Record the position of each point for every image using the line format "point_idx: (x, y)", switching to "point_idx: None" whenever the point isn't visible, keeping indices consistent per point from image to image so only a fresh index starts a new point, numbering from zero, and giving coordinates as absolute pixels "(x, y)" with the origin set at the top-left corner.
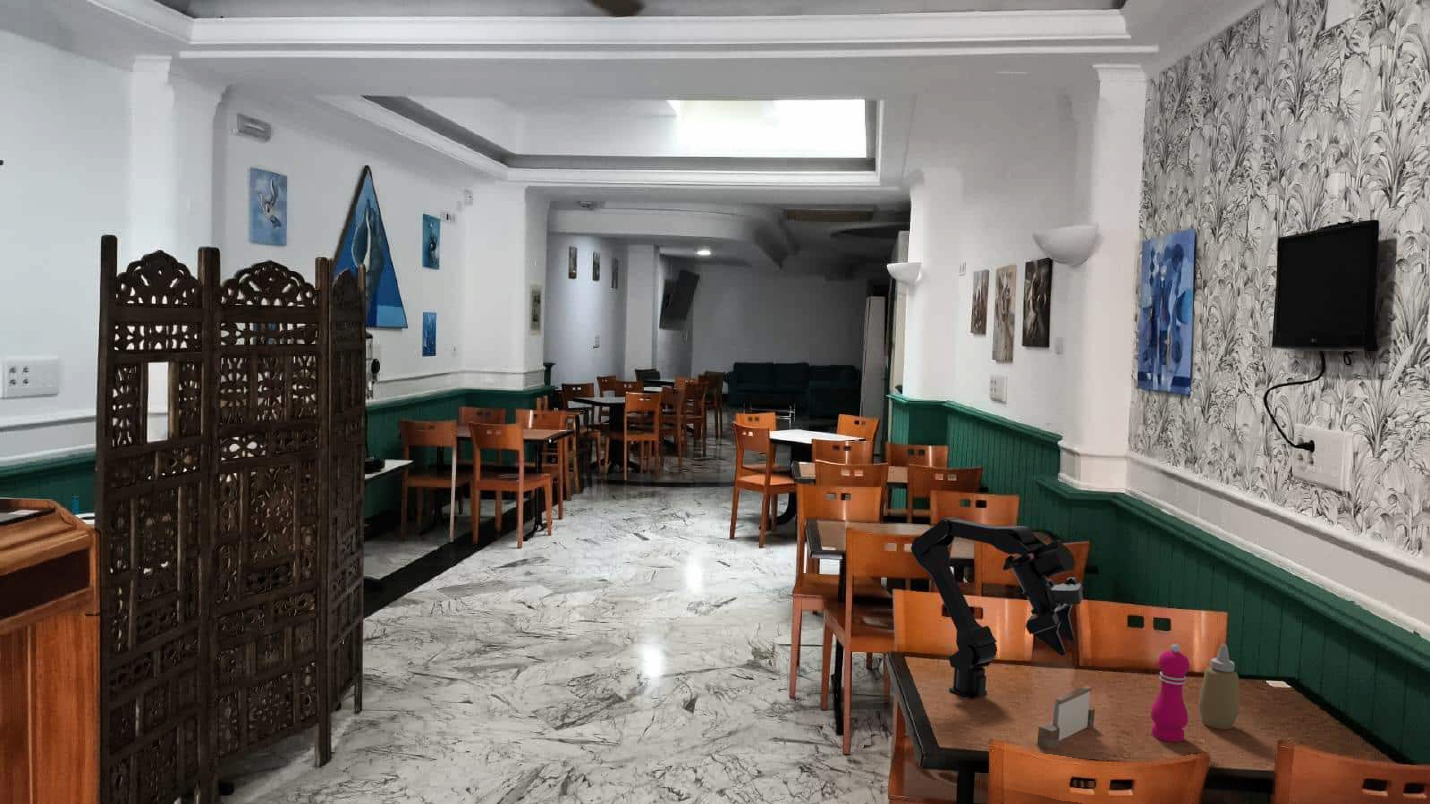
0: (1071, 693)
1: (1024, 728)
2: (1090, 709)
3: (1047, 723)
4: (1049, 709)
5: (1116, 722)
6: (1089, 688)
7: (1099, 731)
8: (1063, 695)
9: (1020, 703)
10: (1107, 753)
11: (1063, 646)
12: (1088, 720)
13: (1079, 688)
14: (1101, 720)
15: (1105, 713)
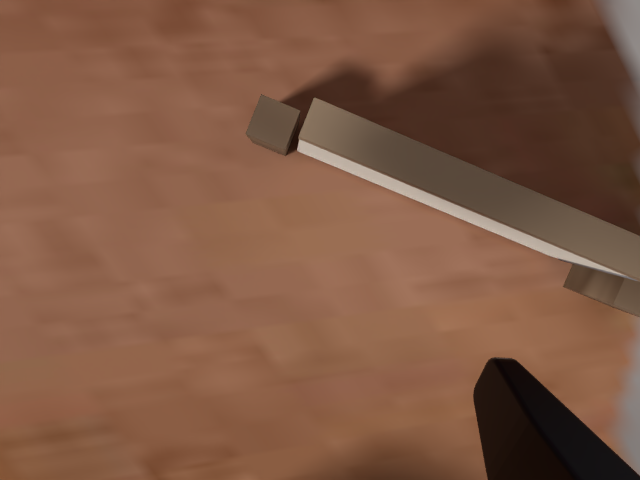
0: (528, 214)
1: (458, 383)
2: (290, 115)
3: (617, 297)
4: (156, 320)
5: (139, 8)
6: (340, 108)
7: (309, 78)
8: (593, 258)
9: (158, 449)
10: (551, 29)
11: (557, 429)
12: (295, 128)
13: (389, 173)
14: (156, 79)
15: (43, 66)
